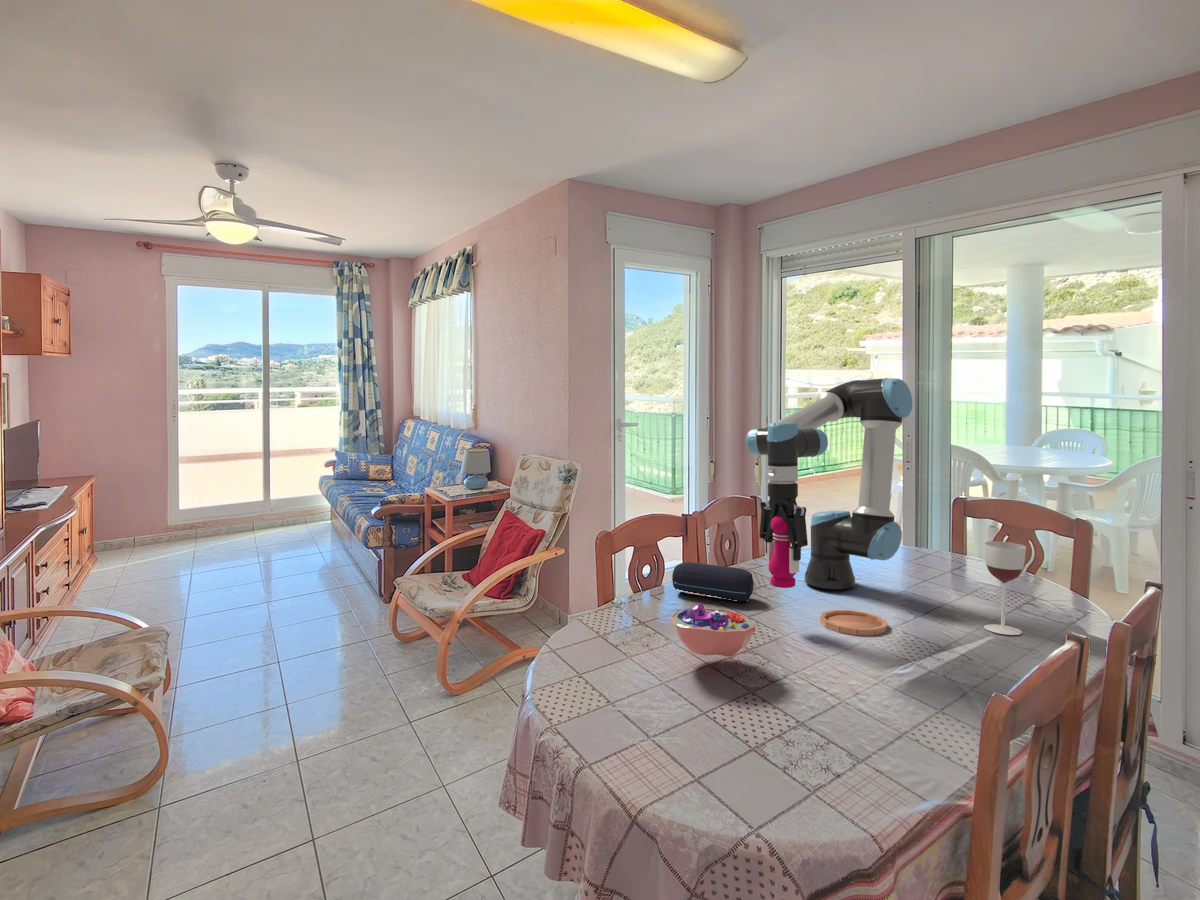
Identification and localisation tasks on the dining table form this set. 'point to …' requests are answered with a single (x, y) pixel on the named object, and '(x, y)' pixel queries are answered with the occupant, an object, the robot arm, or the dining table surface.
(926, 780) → the dining table surface
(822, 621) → the terracotta saucer
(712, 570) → the portable speaker
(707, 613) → the cell model
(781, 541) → the pepper mill
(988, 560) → the wineglass
